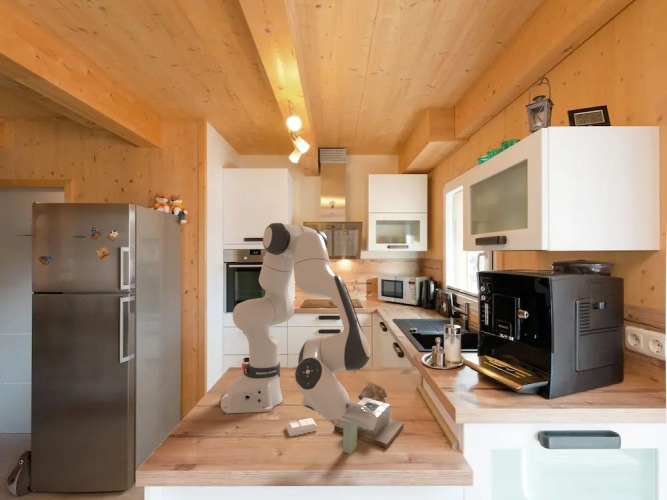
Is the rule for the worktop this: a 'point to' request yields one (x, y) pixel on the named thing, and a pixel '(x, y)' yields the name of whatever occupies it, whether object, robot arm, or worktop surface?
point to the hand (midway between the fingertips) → (349, 421)
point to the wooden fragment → (373, 392)
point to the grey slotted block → (381, 413)
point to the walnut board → (384, 435)
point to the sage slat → (349, 437)
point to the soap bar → (301, 426)
